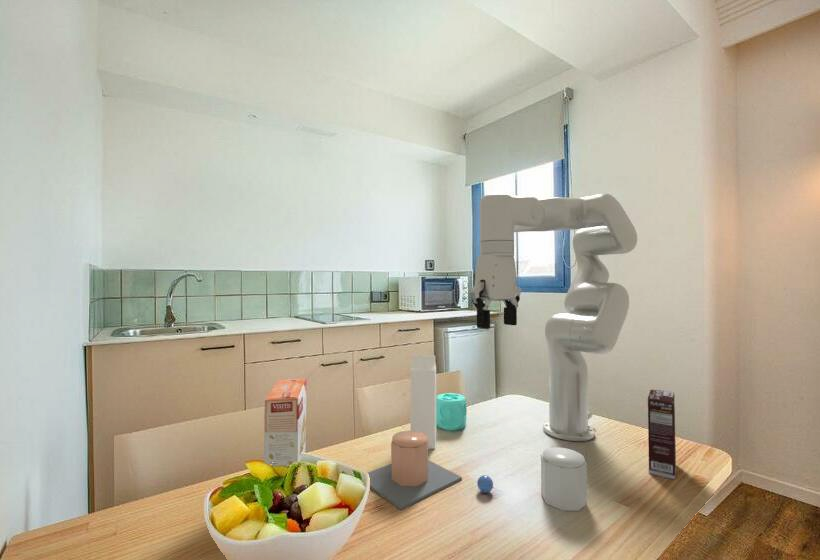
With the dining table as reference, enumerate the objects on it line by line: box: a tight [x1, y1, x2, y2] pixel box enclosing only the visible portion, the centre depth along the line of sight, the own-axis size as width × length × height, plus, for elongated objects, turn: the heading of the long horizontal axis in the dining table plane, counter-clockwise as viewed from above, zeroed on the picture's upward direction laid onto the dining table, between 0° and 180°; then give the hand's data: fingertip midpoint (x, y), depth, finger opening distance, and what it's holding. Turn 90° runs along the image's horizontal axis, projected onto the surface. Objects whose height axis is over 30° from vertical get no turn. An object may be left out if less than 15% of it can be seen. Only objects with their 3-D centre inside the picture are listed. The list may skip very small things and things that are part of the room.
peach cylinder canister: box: [390, 430, 429, 486], centre depth 78 cm, size 7×7×8 cm
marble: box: [476, 474, 494, 494], centre depth 74 cm, size 3×3×3 cm
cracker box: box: [263, 378, 307, 467], centre depth 71 cm, size 14×6×21 cm, turn 9°
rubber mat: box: [367, 459, 463, 511], centre depth 78 cm, size 16×14×1 cm
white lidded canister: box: [540, 446, 588, 512], centre depth 71 cm, size 7×7×8 cm
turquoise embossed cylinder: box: [436, 392, 468, 432], centre depth 108 cm, size 8×8×8 cm
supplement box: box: [647, 389, 677, 480], centre depth 83 cm, size 9×5×16 cm, turn 145°
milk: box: [409, 354, 437, 450], centre depth 96 cm, size 6×6×22 cm
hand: (497, 326), depth 86 cm, fingers open, 9 cm apart
